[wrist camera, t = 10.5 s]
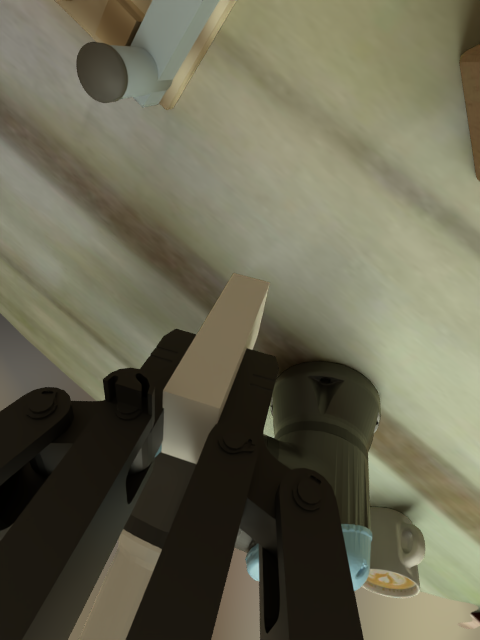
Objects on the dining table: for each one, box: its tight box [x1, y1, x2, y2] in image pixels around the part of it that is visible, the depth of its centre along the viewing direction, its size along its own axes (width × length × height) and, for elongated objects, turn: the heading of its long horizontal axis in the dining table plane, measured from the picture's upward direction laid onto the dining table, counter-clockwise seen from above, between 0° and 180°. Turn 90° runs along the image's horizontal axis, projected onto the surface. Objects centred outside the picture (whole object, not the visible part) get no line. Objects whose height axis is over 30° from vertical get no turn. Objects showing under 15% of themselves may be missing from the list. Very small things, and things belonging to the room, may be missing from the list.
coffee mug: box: [362, 507, 425, 598], centre depth 60 cm, size 13×10×10 cm
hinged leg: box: [76, 0, 219, 107], centre depth 26 cm, size 3×10×9 cm, turn 138°
